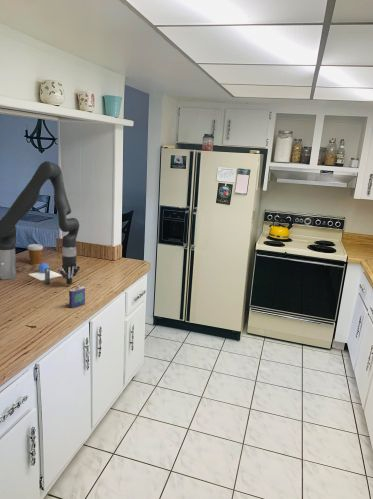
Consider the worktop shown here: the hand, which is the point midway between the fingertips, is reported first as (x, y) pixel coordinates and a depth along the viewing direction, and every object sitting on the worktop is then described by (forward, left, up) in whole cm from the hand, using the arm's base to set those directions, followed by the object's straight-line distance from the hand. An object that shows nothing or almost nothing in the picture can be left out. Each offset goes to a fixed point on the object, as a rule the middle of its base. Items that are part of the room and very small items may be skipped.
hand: (69, 284), depth 217 cm
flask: (-12, -25, -2) cm, 28 cm away
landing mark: (+1, +25, -2) cm, 25 cm away
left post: (-7, +11, -2) cm, 13 cm away
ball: (+3, +29, +2) cm, 30 cm away
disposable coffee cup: (+9, +49, -2) cm, 50 cm away
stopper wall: (+1, +39, -2) cm, 39 cm away
